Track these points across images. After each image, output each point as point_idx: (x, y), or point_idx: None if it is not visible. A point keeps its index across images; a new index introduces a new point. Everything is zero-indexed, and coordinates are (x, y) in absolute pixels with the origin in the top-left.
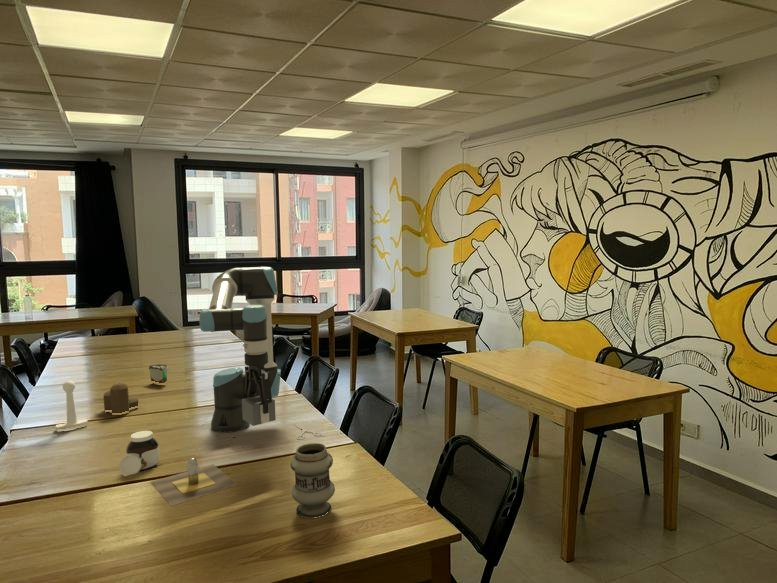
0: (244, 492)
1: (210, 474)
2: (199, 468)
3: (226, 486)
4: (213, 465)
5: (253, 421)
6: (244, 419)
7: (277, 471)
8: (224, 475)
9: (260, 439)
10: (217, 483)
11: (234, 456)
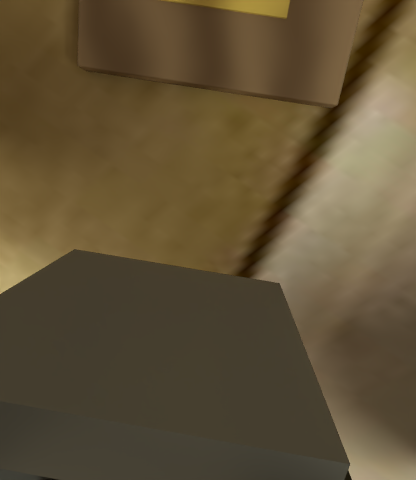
0: (49, 73)
1: (249, 35)
2: (348, 33)
3: (94, 20)
4: (321, 97)
5: (53, 265)
6: (243, 281)
7: (116, 252)
8: (193, 74)
9: (400, 378)
10: (146, 7)
11: (355, 231)
